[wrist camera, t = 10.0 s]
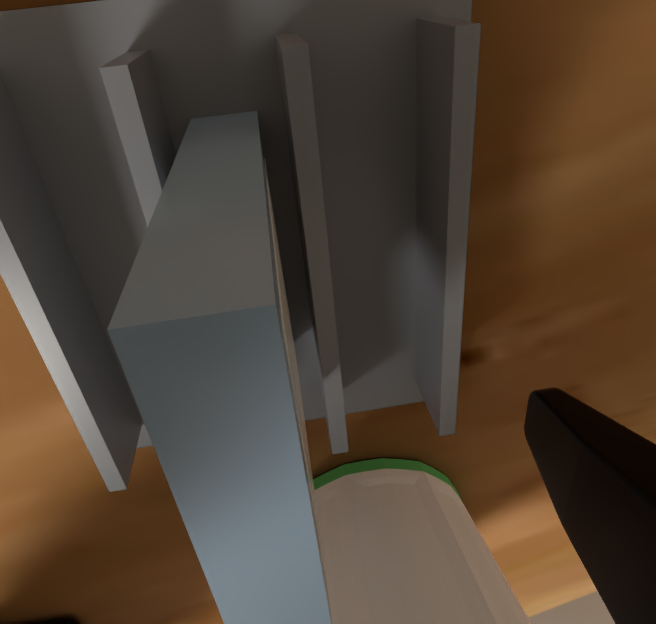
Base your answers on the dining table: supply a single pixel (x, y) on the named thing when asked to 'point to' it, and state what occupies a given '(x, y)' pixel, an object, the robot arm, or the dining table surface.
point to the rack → (283, 174)
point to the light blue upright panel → (225, 377)
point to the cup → (406, 549)
